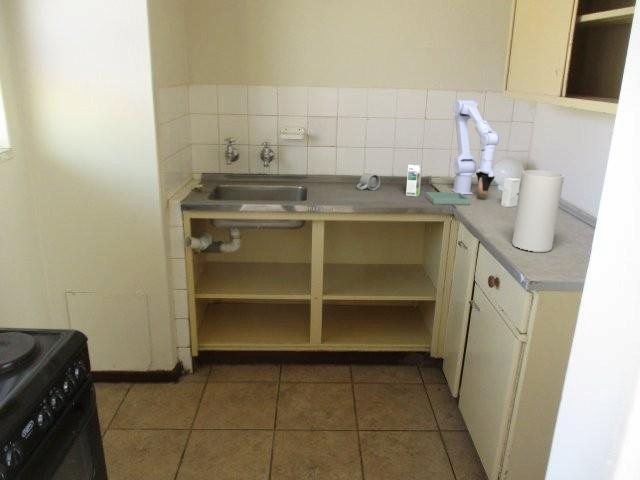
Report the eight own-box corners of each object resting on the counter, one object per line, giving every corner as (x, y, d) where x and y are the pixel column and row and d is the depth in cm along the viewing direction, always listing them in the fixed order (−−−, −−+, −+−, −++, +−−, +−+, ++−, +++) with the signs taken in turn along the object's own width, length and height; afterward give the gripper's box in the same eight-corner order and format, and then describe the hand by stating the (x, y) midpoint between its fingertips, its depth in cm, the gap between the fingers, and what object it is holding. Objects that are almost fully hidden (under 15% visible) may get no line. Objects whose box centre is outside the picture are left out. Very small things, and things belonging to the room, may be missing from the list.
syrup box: (405, 195, 247) (407, 165, 242) (407, 193, 252) (410, 163, 247) (417, 196, 245) (420, 166, 240) (419, 194, 250) (422, 164, 246)
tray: (425, 197, 244) (426, 192, 243) (459, 197, 245) (459, 192, 244) (433, 204, 230) (434, 199, 230) (469, 205, 231) (469, 199, 231)
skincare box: (508, 207, 229) (512, 180, 225) (500, 205, 233) (503, 178, 229) (517, 205, 232) (521, 179, 229) (509, 203, 236) (512, 177, 232)
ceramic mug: (370, 186, 265) (370, 171, 263) (380, 189, 258) (380, 173, 256) (353, 188, 260) (353, 173, 257) (362, 191, 253) (363, 176, 251)
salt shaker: (476, 192, 242) (478, 177, 239) (485, 192, 242) (487, 177, 240) (479, 194, 237) (481, 179, 235) (489, 194, 238) (491, 179, 235)
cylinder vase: (557, 247, 176) (570, 174, 169) (541, 255, 168) (554, 179, 160) (522, 239, 185) (532, 168, 177) (505, 246, 177) (515, 172, 169)
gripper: (472, 156, 241) (469, 185, 246) (484, 162, 228) (480, 192, 232) (487, 157, 242) (484, 186, 246) (499, 162, 228) (495, 193, 232)
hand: (483, 189), depth 239 cm, fingers closed on salt shaker, 5 cm apart
